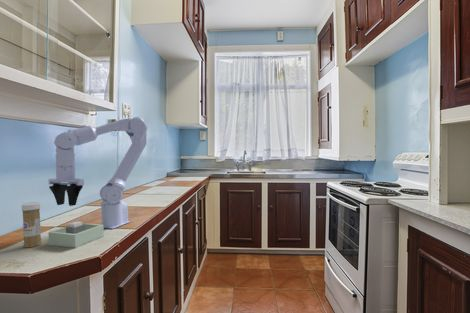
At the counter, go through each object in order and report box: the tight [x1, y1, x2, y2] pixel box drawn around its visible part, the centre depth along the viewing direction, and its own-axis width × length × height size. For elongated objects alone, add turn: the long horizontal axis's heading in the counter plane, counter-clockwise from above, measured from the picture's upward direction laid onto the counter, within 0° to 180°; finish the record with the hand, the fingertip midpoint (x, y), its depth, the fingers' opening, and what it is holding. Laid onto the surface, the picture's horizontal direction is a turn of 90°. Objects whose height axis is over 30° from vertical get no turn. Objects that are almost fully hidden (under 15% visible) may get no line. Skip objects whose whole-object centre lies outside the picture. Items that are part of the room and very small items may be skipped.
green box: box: [48, 222, 105, 249], centre depth 88 cm, size 11×11×4 cm
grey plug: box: [65, 221, 85, 234], centre depth 87 cm, size 4×4×6 cm
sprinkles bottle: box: [21, 201, 42, 248], centre depth 85 cm, size 5×5×13 cm
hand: (66, 205), depth 95 cm, fingers open, 5 cm apart
